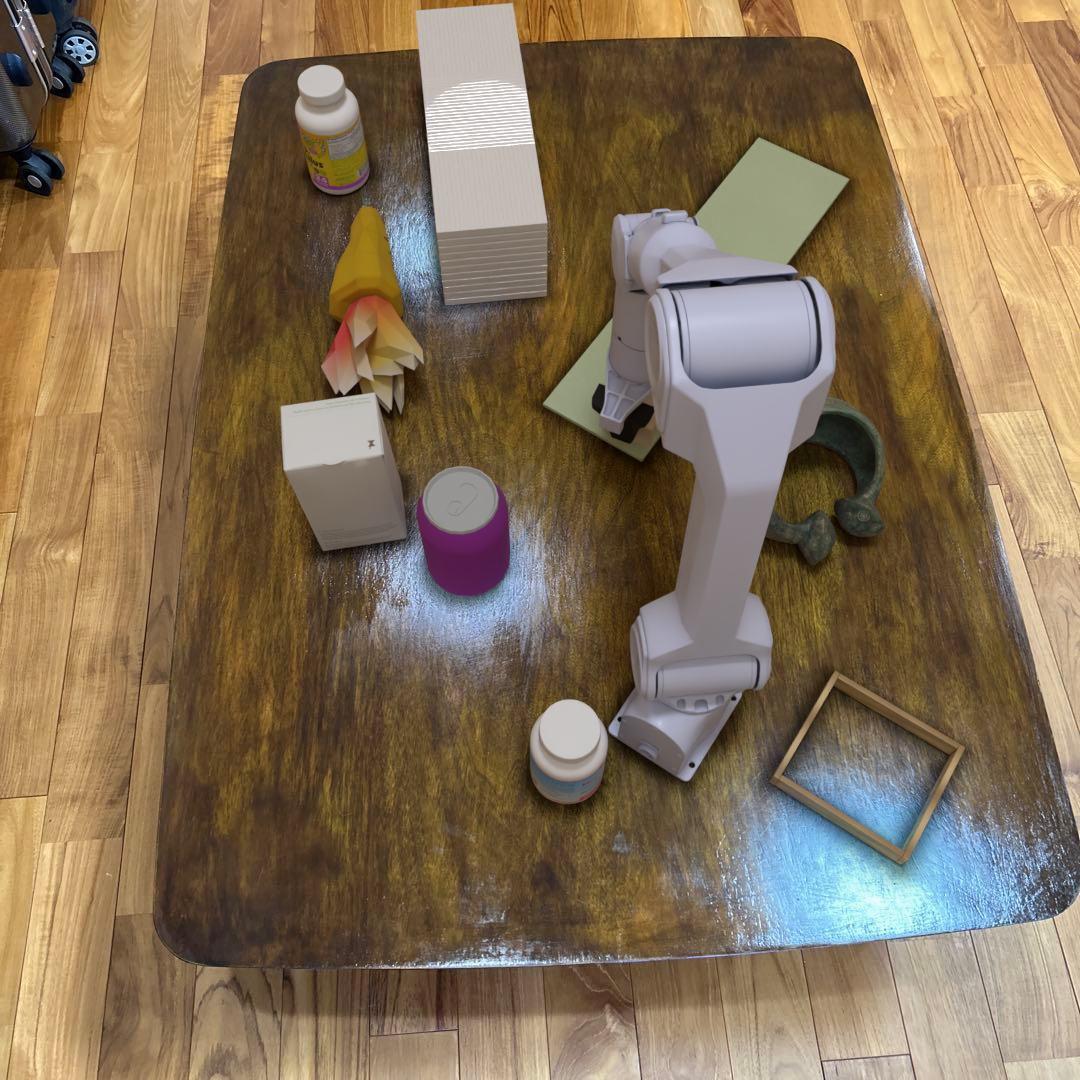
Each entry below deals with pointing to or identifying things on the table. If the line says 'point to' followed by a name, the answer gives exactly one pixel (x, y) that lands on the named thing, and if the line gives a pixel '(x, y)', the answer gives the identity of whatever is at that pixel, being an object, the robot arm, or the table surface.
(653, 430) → the block
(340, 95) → the supplement bottle
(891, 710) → the wooden frame
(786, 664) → the table surface
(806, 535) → the dark green rounded piece
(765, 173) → the runner
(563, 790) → the pill bottle
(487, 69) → the stack of papers
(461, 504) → the beverage can
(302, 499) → the cosmetic box
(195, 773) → the table surface
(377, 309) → the torch
